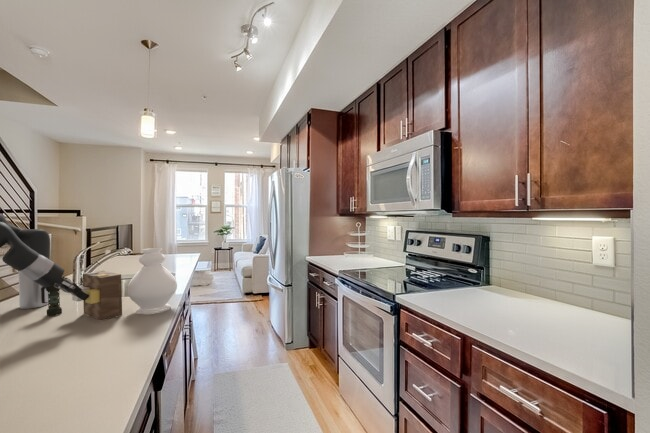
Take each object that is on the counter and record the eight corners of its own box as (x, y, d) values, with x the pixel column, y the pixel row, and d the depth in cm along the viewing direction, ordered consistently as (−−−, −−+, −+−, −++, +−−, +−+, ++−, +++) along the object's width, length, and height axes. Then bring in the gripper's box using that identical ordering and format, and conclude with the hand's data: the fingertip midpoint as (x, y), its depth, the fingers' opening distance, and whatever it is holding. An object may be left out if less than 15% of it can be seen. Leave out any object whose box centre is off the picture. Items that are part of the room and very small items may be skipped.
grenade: (48, 318, 119) (47, 279, 118) (36, 317, 120) (35, 278, 120) (66, 312, 125) (65, 275, 125) (53, 311, 126) (52, 275, 126)
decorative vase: (177, 312, 124) (176, 249, 123) (125, 319, 116) (123, 253, 116) (177, 300, 140) (175, 245, 139) (130, 306, 132) (129, 248, 132)
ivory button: (72, 300, 119) (72, 288, 119) (90, 296, 124) (90, 285, 124) (77, 301, 117) (77, 290, 116) (95, 297, 122) (95, 286, 122)
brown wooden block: (83, 314, 123) (82, 273, 123) (103, 309, 129) (102, 270, 129) (101, 320, 115) (100, 277, 115) (122, 315, 121) (121, 273, 121)
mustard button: (85, 302, 116) (85, 290, 116) (103, 298, 121) (103, 287, 121) (90, 304, 113) (90, 292, 113) (109, 299, 119) (108, 288, 118)
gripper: (24, 277, 105) (70, 304, 115) (39, 282, 98) (86, 310, 108) (44, 259, 109) (86, 287, 120) (59, 262, 102) (102, 291, 113)
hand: (86, 298), depth 114 cm, fingers closed
